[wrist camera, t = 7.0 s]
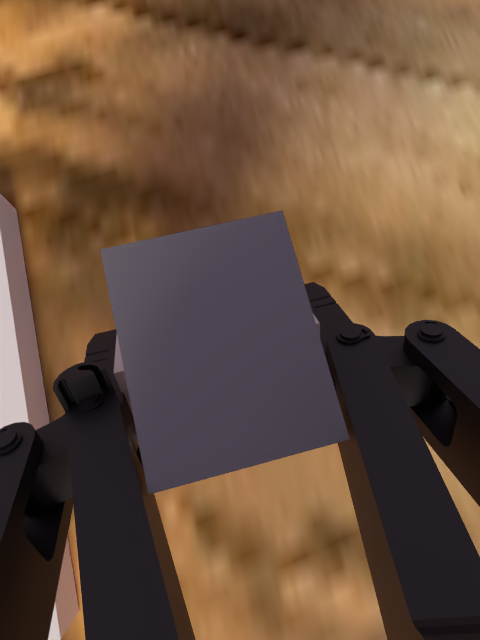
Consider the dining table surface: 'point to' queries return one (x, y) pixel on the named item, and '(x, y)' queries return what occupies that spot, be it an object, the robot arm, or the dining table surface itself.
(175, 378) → the two-tone grey orange block
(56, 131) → the dining table surface
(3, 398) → the socket
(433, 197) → the dining table surface
